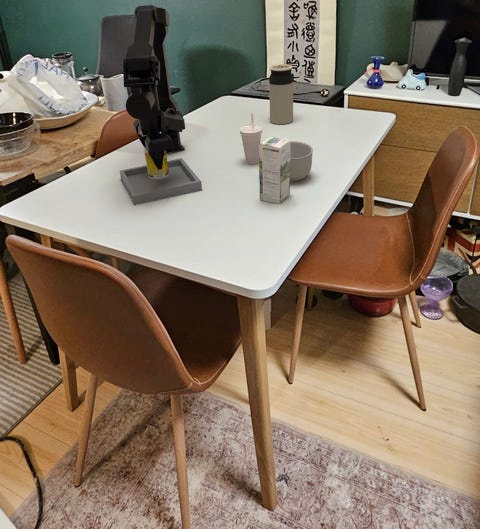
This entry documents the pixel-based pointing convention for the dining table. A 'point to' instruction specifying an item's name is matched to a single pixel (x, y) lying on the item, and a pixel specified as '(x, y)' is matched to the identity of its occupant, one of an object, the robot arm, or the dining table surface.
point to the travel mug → (281, 94)
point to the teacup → (300, 160)
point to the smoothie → (251, 141)
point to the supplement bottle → (152, 168)
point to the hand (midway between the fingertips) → (157, 165)
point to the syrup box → (274, 169)
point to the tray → (160, 182)
